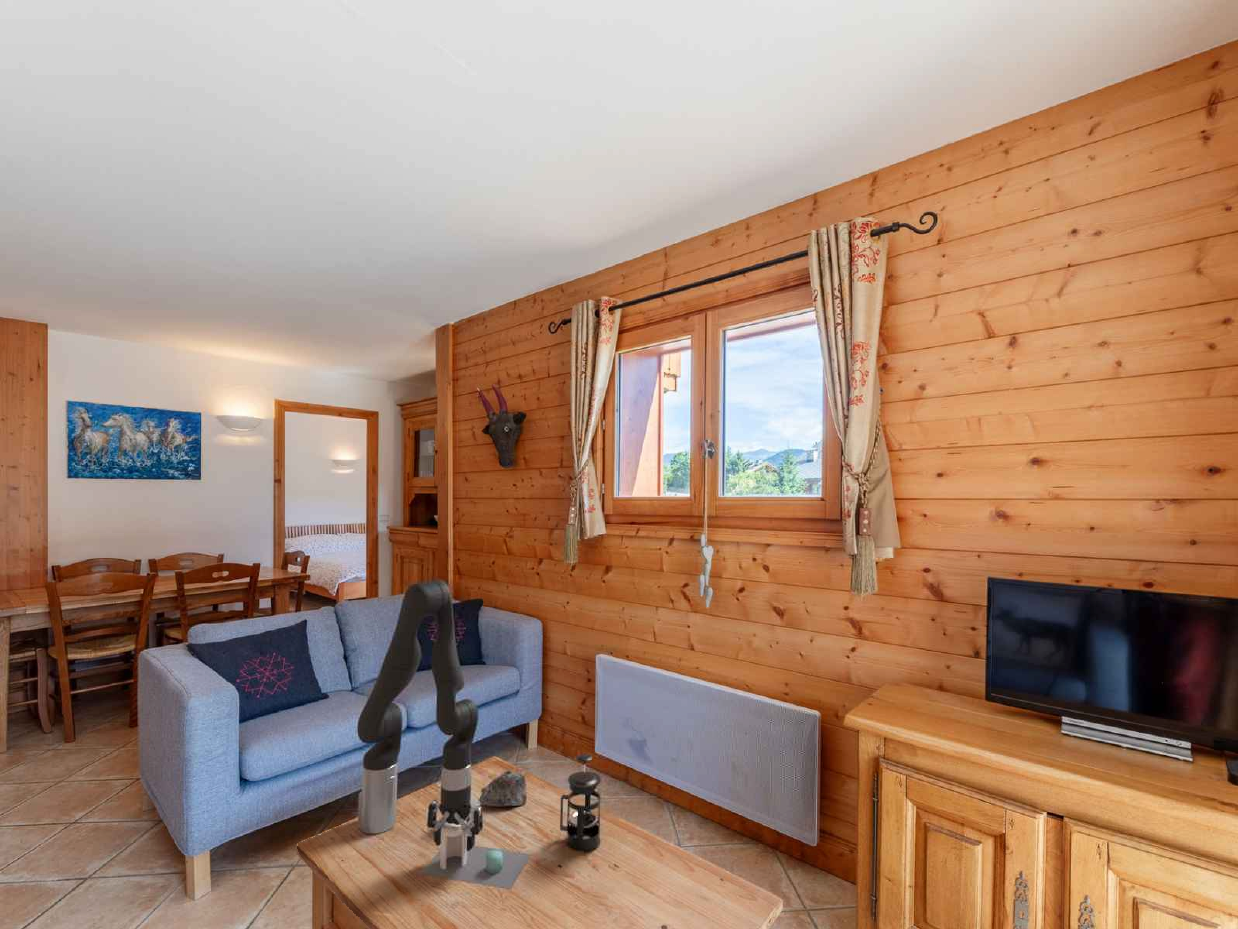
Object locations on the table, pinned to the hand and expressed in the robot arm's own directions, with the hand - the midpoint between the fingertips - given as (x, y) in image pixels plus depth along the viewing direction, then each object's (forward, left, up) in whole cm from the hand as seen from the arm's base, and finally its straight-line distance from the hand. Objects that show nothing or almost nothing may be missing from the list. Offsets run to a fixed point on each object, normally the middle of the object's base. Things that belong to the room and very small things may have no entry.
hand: (454, 846), depth 152 cm
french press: (+29, +17, -5) cm, 34 cm away
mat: (+6, +1, -4) cm, 8 cm away
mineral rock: (+1, +31, -5) cm, 31 cm away
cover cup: (0, 0, -4) cm, 4 cm away
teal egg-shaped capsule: (+11, 0, -4) cm, 12 cm away
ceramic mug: (-8, +17, -5) cm, 20 cm away
